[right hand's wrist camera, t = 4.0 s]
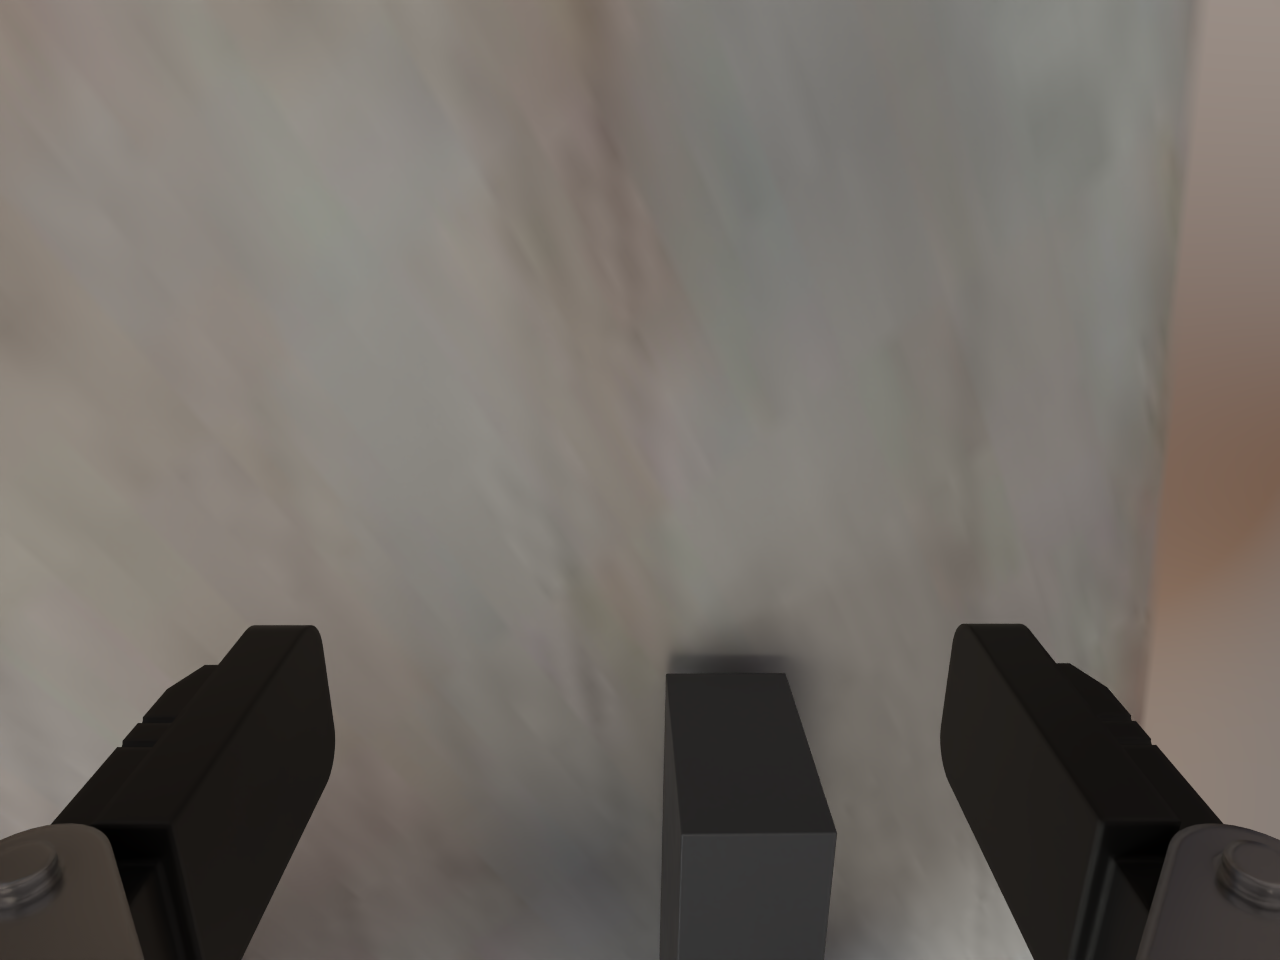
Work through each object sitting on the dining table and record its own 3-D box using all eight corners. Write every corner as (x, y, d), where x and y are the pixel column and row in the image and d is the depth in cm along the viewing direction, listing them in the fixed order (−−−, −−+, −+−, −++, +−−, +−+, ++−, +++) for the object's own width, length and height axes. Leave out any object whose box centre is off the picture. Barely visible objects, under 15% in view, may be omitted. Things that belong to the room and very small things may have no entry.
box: (665, 673, 45) (681, 834, 34) (785, 672, 45) (837, 833, 34) (657, 1038, 53) (667, 1257, 42) (758, 1036, 53) (793, 1255, 43)
